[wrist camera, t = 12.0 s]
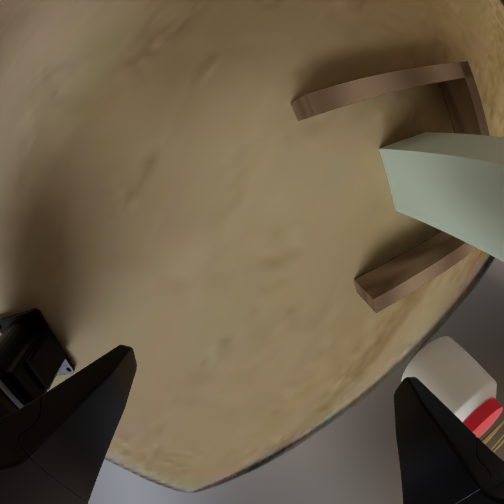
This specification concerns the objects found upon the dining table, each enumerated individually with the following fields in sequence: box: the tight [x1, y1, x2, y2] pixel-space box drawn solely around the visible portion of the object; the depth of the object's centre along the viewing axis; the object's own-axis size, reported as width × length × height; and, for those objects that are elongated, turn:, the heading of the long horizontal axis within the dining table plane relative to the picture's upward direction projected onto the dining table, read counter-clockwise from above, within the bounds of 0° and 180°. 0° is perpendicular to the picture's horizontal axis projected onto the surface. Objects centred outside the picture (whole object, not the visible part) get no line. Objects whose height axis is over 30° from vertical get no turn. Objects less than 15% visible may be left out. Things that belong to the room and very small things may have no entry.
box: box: [291, 61, 489, 313], centre depth 16 cm, size 14×14×3 cm
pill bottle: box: [402, 336, 503, 438], centre depth 20 cm, size 8×8×11 cm
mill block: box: [379, 132, 504, 262], centre depth 11 cm, size 5×5×14 cm
